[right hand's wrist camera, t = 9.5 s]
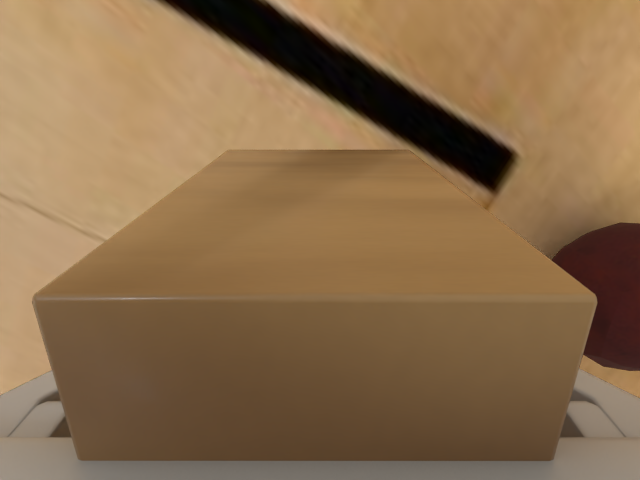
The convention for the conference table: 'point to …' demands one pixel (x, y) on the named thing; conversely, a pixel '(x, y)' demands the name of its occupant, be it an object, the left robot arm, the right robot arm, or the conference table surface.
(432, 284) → the bar
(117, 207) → the conference table surface
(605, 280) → the potato
